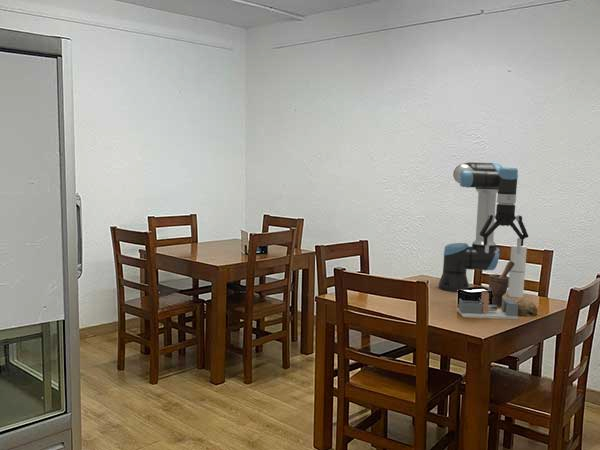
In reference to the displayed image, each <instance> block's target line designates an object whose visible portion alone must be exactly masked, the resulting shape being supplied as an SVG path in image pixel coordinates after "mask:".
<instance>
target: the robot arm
mask: <svg viewBox="0 0 600 450" xmlns="http://www.w3.org/2000/svg"><path fill="white" fill-rule="evenodd" d="M518 173H519V172H518V168H516V167H503V166H502V165H501V164H500V163H496V162H473V161H471V162H470V161H469V162H464V163H461V164H459V165H457V166H456V167H455V168H454V170H453V173H452V175H453V176H452V177H453V178H454V181H455V182H456V183H458V184H459V186H460V187H462V188H467V189H468V188H475V191H476V192H477V193H478V194H477V197H478V198H477V210H476V212H477V215H476V227H475V230H476V231H475V240H473V242H472V243H471V246H470V245H469V244H468V243H467V242H456V243H449V244H447V245H445V246H444V250H443V251H444V252H443V265H442V274H441V276H440V279H439V281H438V285H437V287H438V288H439V289H440V290H443V291H447V292H455V293H457V290H458V289H463V288H468V287H469V288H470V284H469V280H468V277H467V271H468V270H471V271H472V270H474V271H475V270H476V271H477V270H478V271H494V270H495V269H496V268H497V266H498V264H499V259H500V248H498V247H497V244H496V243H495V242H494V235H495V234H494V233H495V230H496V229H497V228H498V227H500V226H501V227H505V226H507V227H511V228H512V230H513V231H514V232H515V234H516V235H517V236H518V238H516V239H517V240H516V245H517V250H516V253H517V254H520V251H521V246H523V245H524V241H525V239H527V238H529V234H528V232H527V229H526V226H525V223H524V222H523V216H522V215H515V214H516V205H515V204H516V201H517V188H518V187H517V186H518V178H519V175H518ZM496 203H497V204H496ZM515 220H516V221H517V224H518V226H519V228H520V229H518V227H517V226H516V224H515V223H514V221H515ZM520 230H521V231H520Z"/></svg>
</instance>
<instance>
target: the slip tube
mask: <svg viewBox="0 0 600 450" xmlns="http://www.w3.org/2000/svg"><path fill="white" fill-rule="evenodd" d="M480 294H481V297H480V304H482V313H488V311H497V309H498V305H493V304H489V299H490V293H489V291H487V290H481V293H480Z"/></svg>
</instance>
